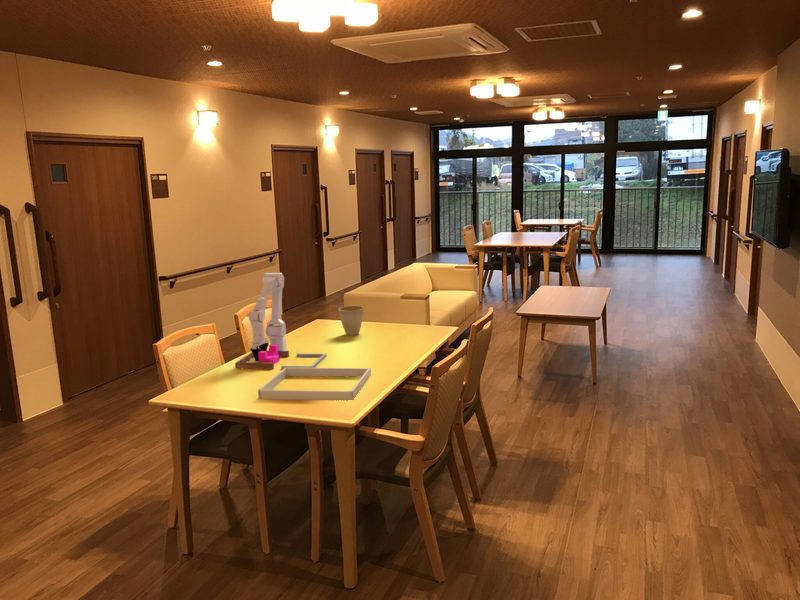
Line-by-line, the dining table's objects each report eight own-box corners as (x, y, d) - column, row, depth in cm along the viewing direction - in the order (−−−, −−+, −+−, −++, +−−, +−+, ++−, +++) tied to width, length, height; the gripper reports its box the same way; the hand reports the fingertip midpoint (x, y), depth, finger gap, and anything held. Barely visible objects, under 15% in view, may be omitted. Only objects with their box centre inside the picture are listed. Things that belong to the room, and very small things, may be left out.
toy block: (270, 367, 322) (269, 352, 321) (259, 366, 324) (258, 352, 322) (282, 358, 337) (281, 344, 335) (271, 358, 338) (270, 344, 337)
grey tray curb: (285, 375, 307) (285, 367, 306) (371, 376, 299) (370, 368, 298) (258, 399, 275) (257, 390, 274) (353, 400, 267) (352, 391, 266)
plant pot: (338, 337, 375) (336, 311, 372) (341, 331, 390) (340, 306, 387) (364, 336, 374) (362, 310, 371) (366, 330, 389) (364, 305, 386)
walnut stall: (254, 356, 344) (253, 350, 344) (289, 356, 341) (288, 350, 340) (235, 368, 322) (235, 363, 322) (273, 369, 318) (272, 363, 318)
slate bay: (297, 356, 340) (297, 353, 340) (326, 356, 337) (326, 353, 337) (281, 369, 317) (281, 366, 317) (312, 369, 314) (312, 366, 314)
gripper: (256, 330, 336) (259, 355, 339) (245, 336, 322) (247, 362, 325) (269, 330, 335) (271, 355, 338) (258, 336, 321) (260, 363, 324)
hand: (260, 358), depth 331 cm, fingers open, 7 cm apart
